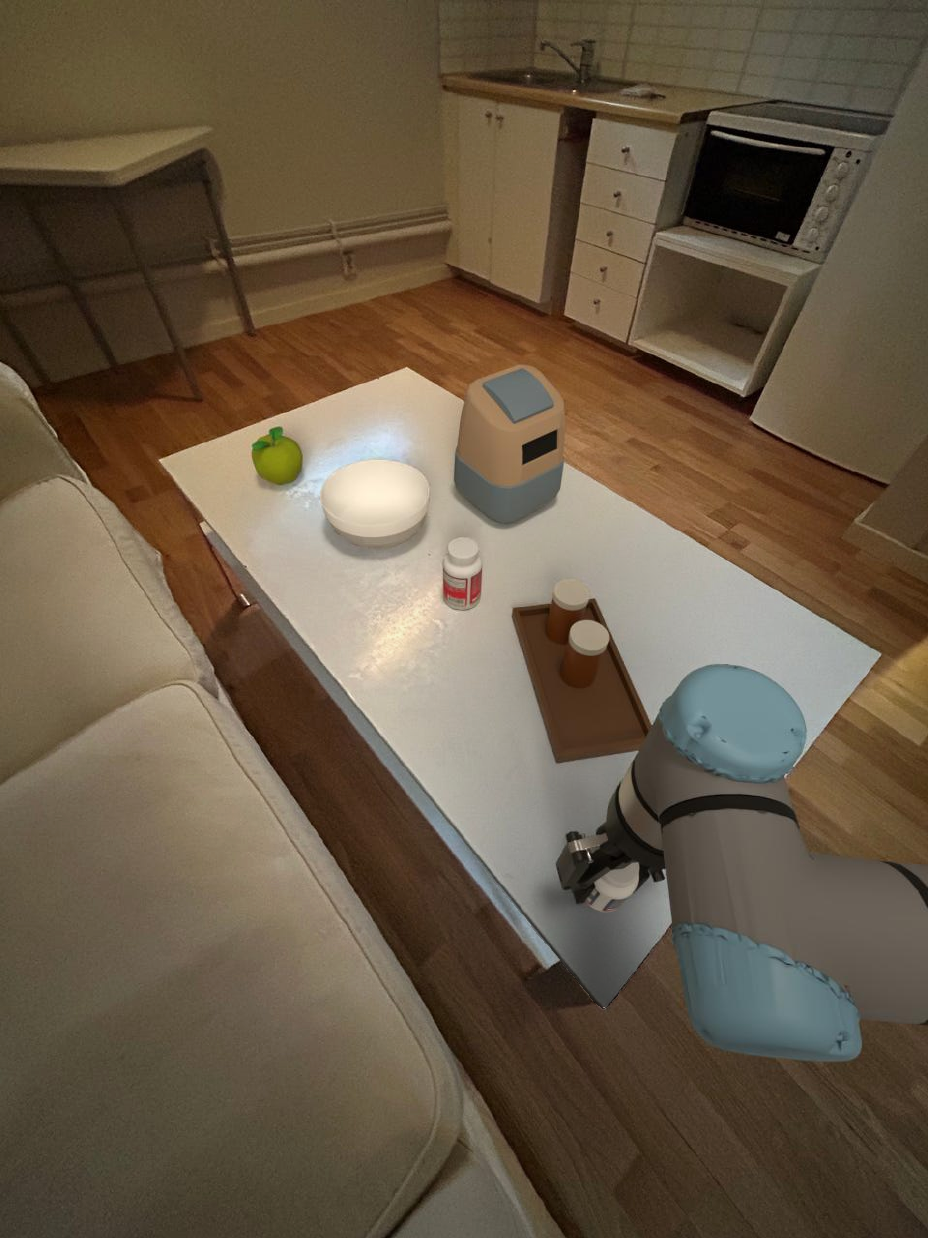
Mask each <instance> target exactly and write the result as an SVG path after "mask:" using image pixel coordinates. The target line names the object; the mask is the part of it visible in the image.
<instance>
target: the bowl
mask: <svg viewBox="0 0 928 1238" xmlns="http://www.w3.org/2000/svg"><path fill="white" fill-rule="evenodd" d="M319 501H320V504H321V508H322V510H323V513H324V516H325V518H326V519H327V521H328V523H329V525H330V526H331V528H332V529H333V531H334V532H335V533H336V534H338V536H340V537H341V538H342V539H344V540H346V541H347V542H349V543H351V544H353V545H355V546H358V547H360V548H366V549H371V550H385V549H390V548H393V547H395V546H397V545H398V546H399V545H400V544H402V543H404V542H406V541H408V540H409V539H411V537H413V536H414V535H415V534H416V533H417V532H418V530H419V529H420V528H421V527H422V526H423V525H424V522H425V520H426V518H427V514H428V511H429V508H430V503H431V502H430V501H431V486H430V483H429V481H428V479H427V478H426V476H425V475H424V474H423V473H422V472H421V471H420V470H419V469H417V468H416V467H414V466H412V465H410V464H408V463H405V462H401V461H399V460H391V459H380V458H379V459H365V460H361V461H356V462H352V463H350V464H347V465H345V466H342V467H339V469H337V470H336V471H334V472H333V473H331V474H330V475H329V476H328V477H327V478H326V479H325V480H324V482H323V483H322V485H321V488H320V491H319Z"/></svg>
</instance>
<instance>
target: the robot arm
mask: <svg viewBox="0 0 928 1238" xmlns="http://www.w3.org/2000/svg"><path fill="white" fill-rule="evenodd" d="M651 725H652V726H651V728H650V730H649V732H648V734H647V736H646V738H645V739H644V741H643V743H642V745H641V747H640V749H639V750H638V752H637V753H636V755H635V757H634V759H633V760H632V762H631V764H630V765H629V767H628V769H627V771H626V772H625V773H624V775H623V777H622V779H621V780H620V781H619V782H618V784H617V786H616V788H615V790H614V791H613V793H612V794H611V797H610V799H609V801H608V805H607V811H606V818H605V819H606V820H605V822H603V823H602V824H601V825H599V826H597V828H596V829H595V835H590V836H587V835H586V833H584V832H583V833H580V832H579V831H576V830H572V831H569V832H567V833H566V834H565V835H564V836H565V839H566V844H565V845H564V847H563V849H562V851H561V853H560V855H559V856H558V857H557V860H556V862H555V864H554V865H555V868H556V872H557V876H558V879H559V882H560V886H561V890H562V891H570V892H573V893H572V894H573V896H574V900H575V904H576V905H580V904H581V905H582V904H584V903H586V902H585V900H586V899H587V898H588V897H589V895H590V894H591V893H592V891H593V890H594V889H595V884H594V882H595V881H597V880H598V879H600V878H601V877H602V876H604V875H605V874H607V873H608V872H610V871H611V870H617V869H624V868H625V867H627V866H628V865H630V864H631V863H635V862H638V863H639V881H638V885H637V887H636V889H635V891H634V892H633V894H635V893H636V892H637V891H638V890H639V889H640V888H641V887H642V886H644V884H645V883H646V882H647V881H648V880H649V879H650V878H652V882H653V883H659V882H662V881H665V880H666V885H667V892H668V893H667V894H668V900H669V901H668V903H669V909H670V918H671V927H672V929H671V932H670V936H671V941H672V944H673V947H674V949H675V952H676V957H677V962H678V967H679V972H680V978H681V985H682V989H683V993H684V999H685V1004H686V1010H687V1014H688V1015H687V1016H688V1018H689V1020H690V1024H691V1025H692V1027H693V1029H694V1031H695V1032H696V1034H697V1035H698V1036H699V1037H700V1038H701V1039H702V1040H703V1041H704V1042H706V1043H707V1044H709V1045H710V1046H712V1047H714V1048H716V1049H718V1050H722V1051H726V1052H731V1053H736V1054H743V1055H748V1056H755V1057H756V1056H757V1057H764V1058H774V1059H775V1058H777V1059H788V1060H797V1061H807V1062H826V1063H827V1062H829V1063H830V1062H849V1061H852V1060H854V1059H856V1058H857V1057H858V1056H859V1055H860V1054H861V1051H862V1048H863V1039H862V1034H861V1029H860V1024H859V1022H860V1020H861V1021H873V1022H875V1021H876V1022H884V1023H885V1022H887V1023H898V1024H909V1025H916V1026H917V1025H918V1026H927V1027H928V865H927V864H918V863H908V862H907V863H906V862H898V861H888V860H887V861H886V860H876V859H868V858H861V857H852V856H842V855H835V854H826V853H825V854H824V853H818V852H811V851H809V850H808V847H807V845H806V843H805V841H804V838H803V836H802V834H801V832H800V831H801V830H800V829H801V827H800V825H799V821H798V817H797V814H796V812H795V809H794V805H793V803H792V799H791V795H790V791H789V789H788V785H787V783H786V778H785V775H788V774H789V773H791V772H792V770H794V765H795V764H796V763H797V761H798V760H799V759H800V757H801V755H803V751H804V749H805V747H806V741H807V732H808V729H807V724H806V720H805V717H804V714H803V712H802V710H801V707H800V706H799V705H798V703H797V702H796V700H795V699H794V698H793V697H792V696H791V694H790V693H789V692H788V691H787V690H786V689H785V688H784V687H783V686H781V685H780V684H779V683H778V682H776V681H775V680H773V679H772V678H770V677H769V676H767V675H765V674H764V673H762V672H759V671H758V670H756V669H752V668H750V667H749V668H748V667H745V666H742V665H737V664H736V665H735V664H729V663H713V664H708V665H703V666H701V667H699V668H696V669H694V670H692V671H691V672H690V673H688V674H687V675H686V676H684V677H683V678H682V679H681V681H679V683H678V685H677V687H676V688H675V689H674V691H673V692H672V694H671V695H670V696H668V697H667V698H665V700H664V701H663V702H662V704H661V706H660V707H659V712H658V714H657V716H656V717H655V719H654V720H653V723H652V724H651ZM663 870H665V874H664V871H663ZM665 876H666V877H665ZM633 894H632V895H633Z"/></svg>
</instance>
